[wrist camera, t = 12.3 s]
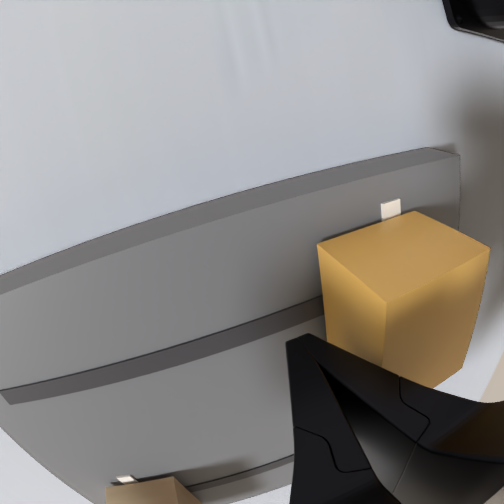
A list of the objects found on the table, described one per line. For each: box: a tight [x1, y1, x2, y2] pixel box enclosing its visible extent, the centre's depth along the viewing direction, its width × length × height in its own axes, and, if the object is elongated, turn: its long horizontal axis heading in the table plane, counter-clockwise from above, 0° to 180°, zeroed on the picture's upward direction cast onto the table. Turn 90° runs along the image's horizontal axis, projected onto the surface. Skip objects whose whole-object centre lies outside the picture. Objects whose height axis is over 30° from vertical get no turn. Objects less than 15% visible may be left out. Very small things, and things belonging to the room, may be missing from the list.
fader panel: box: [0, 148, 460, 504], centre depth 13 cm, size 22×18×2 cm
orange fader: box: [317, 211, 491, 389], centre depth 10 cm, size 4×5×4 cm
